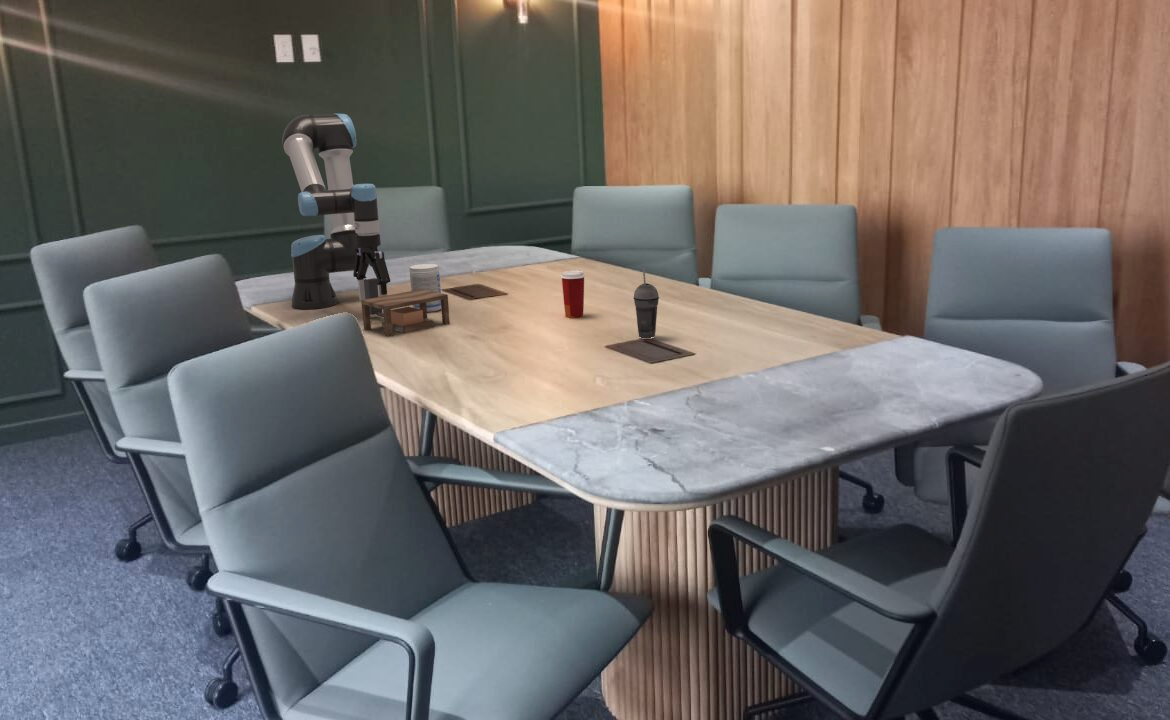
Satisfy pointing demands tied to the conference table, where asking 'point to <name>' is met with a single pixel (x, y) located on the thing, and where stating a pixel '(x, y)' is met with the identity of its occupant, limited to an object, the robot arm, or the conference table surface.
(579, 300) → the paper cup
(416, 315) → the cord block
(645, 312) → the beverage cup
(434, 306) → the supplement tub
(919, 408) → the conference table surface
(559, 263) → the conference table surface
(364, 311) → the shelf
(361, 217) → the robot arm
